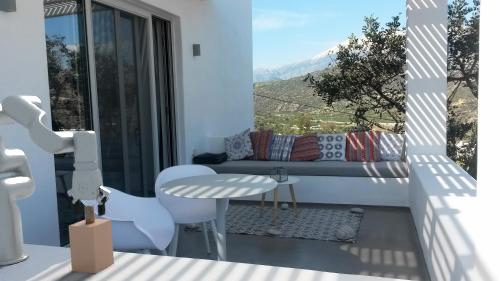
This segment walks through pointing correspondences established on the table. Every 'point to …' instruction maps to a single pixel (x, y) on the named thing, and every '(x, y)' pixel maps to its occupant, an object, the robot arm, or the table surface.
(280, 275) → the table surface
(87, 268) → the cover
